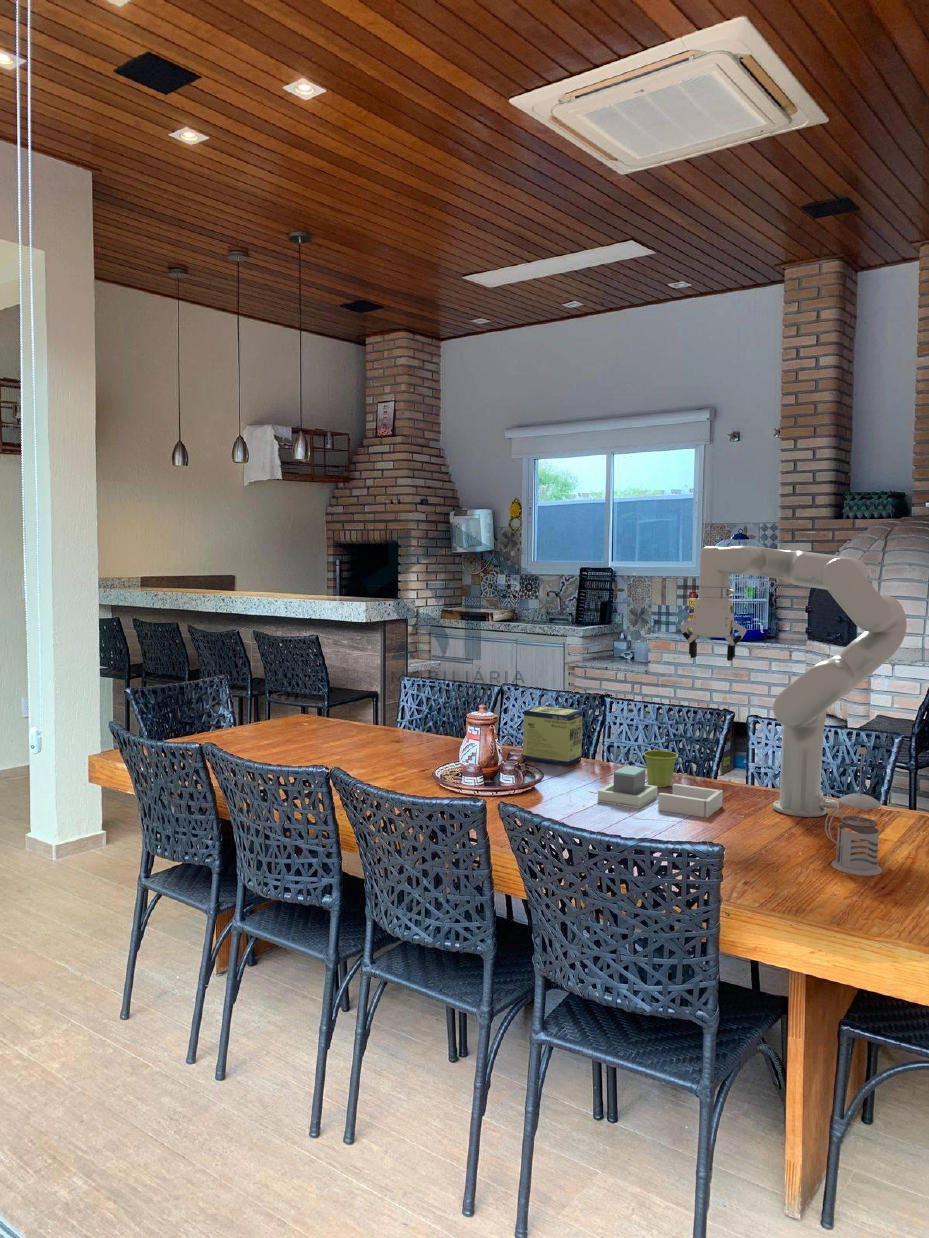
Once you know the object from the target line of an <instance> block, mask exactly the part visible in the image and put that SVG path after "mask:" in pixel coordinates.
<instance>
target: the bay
mask: <svg viewBox="0 0 929 1238" xmlns="http://www.w3.org/2000/svg"><path fill="white" fill-rule="evenodd" d="M723 792H724V791H723V790H722V789H715V788H707V787H700V786H695V785H688V784H687V785H686V784H680V783H673V784H672V794H671V793H665V792H660V793H658V802H657V803H658V804H657V810H658V811H663V812H671V813H677V814H682V815H689V816H694V817H695V816H696V817H699V818H709V817H711V816H712V815H713V814H715V813H716V812H717V811H718V810H719V809H721V807H723V795H724V794H723Z"/></svg>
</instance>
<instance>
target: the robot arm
mask: <svg viewBox="0 0 929 1238" xmlns="http://www.w3.org/2000/svg"><path fill="white" fill-rule="evenodd" d="M699 556H700V557H699V559H700V560H699V582H698V583H699V585H698V586H699V587H698V590H699V591H698V598H696V600H695V603H694V607H693V615H692V620H689V621H687V622H685V623H683V624H680V625H679V630H681V631H680V632H681V634H682V636H683V637H684V638H685V640H686V641H687V642H688V644H689V645H688V646H689V647H688V654H689V655H690V659H694V658H697V653H698V643H697V642H696V641H697V639H698V638H699V637H702V638H703V637H706V638H724V639H725V640H726V641H727V643H728V645H727V647H726V649H727V651H726V654H727V655H726V661H728V662H731V661H733V659H734V658H735V657H736V645H737V644H738V643H740V641H741V640H743V637H744V636H745V634H746V633H747V631H748V630H747V629H746V627H744V626H743V625H740V624H739V623H737V622H735V613H734V605H733V600H732V599H729V598H730V596H735V589H731V588H730V575H733V576H756V577H766V578H772V579H778V580H783V581H787V582H788V583H790V584H791V585H794V586H795V585H796V586H800V587H807V588H814V589H819V590H820V589H821V590H826V591H828V593H829V594H830V595H831V597H832V598H833V599H834V600H835V602H836V603H837V604H838V605H839V606H840V608H841V609H842V611H844V613H846V615H847V616H848V618H850V619H851V621H852V623H854V624H855V625H856V626H857V627H858V628H859V629H860V630H862V631H863V632H862V633H861V634H860V635H859V636H857V637H856V638H855V639H853V640H852V641H851V642H850V643H849V644H847V646H845V647H844V648H843V649H842V650H841V651H839V652H838V653H836V654H835V655H834V656H832V657H830V658H827V659H825V660H823V661H820V662H818V663H816V664H814V665H812V666H811V667H810V668H808V670H806V671H805V672H804V673H802V675H800V676H799V677H798V678H797V679H795V680H794V681H793V682H791V684H790V685H788V686H787V687H786V688H784V689H783V690H782V691H781V692H780V693H779V694H778V695H777V696H776V698H774V699H775V700H774V702H773V706H772V709H773V710H772V713H773V714H774V715H773V716H774V718H775V719H776V721H777V722H778V723H779V724H780V725H782V726H783V731H782V737H781V738H782V740H781V757H780V759H781V761H780V782H779V783H780V784H779V785H780V787H779V788H780V789H779V800H776V801H774V802H773V803H772V809H774V811H777V812H779V813H781V814H784V815H789V816H794V817H802V818H803V817H804V818H815V817H816V818H817V817H822V816H824V815H826V814H827V809H830V810H833V809H835V808H839V809H840V805H839V804H840V802H839V801H836V799H829V798H828V799H826V798H825V797H824V793H823V792H822V791H821V789H822V770H823V769H822V762H823V750H824V749H823V748H824V747H823V746H824V745H823V744H824V733H825V732H824V731H825V725H826V724H825V723H826V718H827V709H829V707H831V706H832V705H833V704H835V703H836V702H837V701H839V700H840V699H841V698H843V697H845V696H848V695H849V694H850V693H852V691H854V689H855V688H856V687H857V686H859V684H861V683H862V682H863V681H865V680H866V679H867V678H869V677H870V675H872V674H873V673H874V672H876V670H877V669H879V668H880V667H881V666H883V665H884V664H885V663H886V662H887V661H889V659H890V658H892V657H893V656H894V655H895V654H896V652H897V651H898V650H899V648H900V647H901V645H902V644H903V641H904V639H905V636H906V632H907V625H908V623H907V616H906V612H905V610H904V609H905V608H904V607H903V606H902V604H901V603H900V602H899V600H897V599H896V598H895V597H893V596H891V595H888V594H880V592H878V591H877V590H876V588H875V587H874V586H873V585H872V584H871V583H870V581H869V580H868V577H869V572H868V569H867V566H866V565H865V563H864V562H863V561H862V560H860V559H858V558H854V557H850V556H842V555H836V554H826V553H820V552H819V553H818V552H811V551H804V550H784V549H777V548H776V549H775V548H767V547H761V546H753V545H739V546H738V545H737V546H736V545H734V546H729V547H727V546H704V547H702V548H701V550H700V555H699ZM690 627H691V631H692V632H691V633H692V634H690V632H688V628H690ZM735 630H736V631H738V633H737V635H736V636H735V637H734V636H733V635H734V633H735ZM839 809H835V810H834V811H839Z"/></svg>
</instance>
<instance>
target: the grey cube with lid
mask: <svg viewBox="0 0 929 1238" xmlns="http://www.w3.org/2000/svg"><path fill="white" fill-rule="evenodd" d="M613 782H614V787H613V792H618V793H624V794H630V795H638V794H640V793H642V792H643V791H645V784H646V768H644V767H643V768H642V767H635V766H628V765H625V766H623V767H621V768H619V769H617V770H616V771H613Z"/></svg>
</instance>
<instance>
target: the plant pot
mask: <svg viewBox="0 0 929 1238" xmlns="http://www.w3.org/2000/svg"><path fill="white" fill-rule="evenodd" d="M642 755H643V756H644V760H645V763H646V772H647V781H648V785H653V786H657V788H666V787H671V785H672V782H673V781H672V780H673V775H674V769H675V766H676V765H675V764H676V762H677V759H678V758H679V754H678V753H677V752H673V751H669V750H655V749H654V750H646V751H644V752H643V753H642Z"/></svg>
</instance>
